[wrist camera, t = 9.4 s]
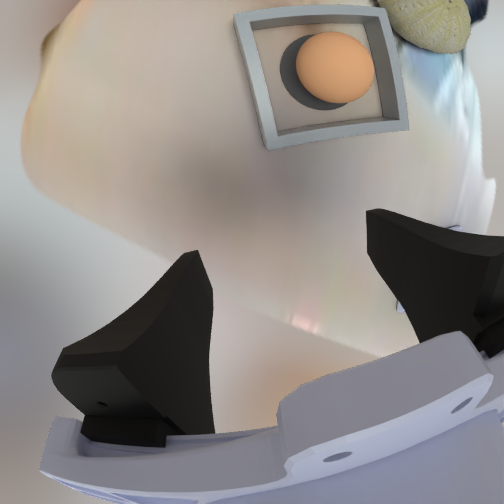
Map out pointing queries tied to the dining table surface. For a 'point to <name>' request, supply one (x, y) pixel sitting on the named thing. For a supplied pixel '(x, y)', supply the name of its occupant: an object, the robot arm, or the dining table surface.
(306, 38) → the corral
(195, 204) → the dining table surface
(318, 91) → the ball
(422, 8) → the sea urchin shell
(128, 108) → the dining table surface
